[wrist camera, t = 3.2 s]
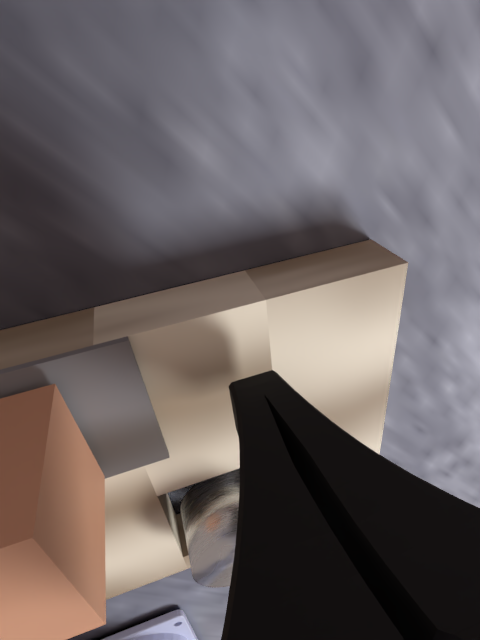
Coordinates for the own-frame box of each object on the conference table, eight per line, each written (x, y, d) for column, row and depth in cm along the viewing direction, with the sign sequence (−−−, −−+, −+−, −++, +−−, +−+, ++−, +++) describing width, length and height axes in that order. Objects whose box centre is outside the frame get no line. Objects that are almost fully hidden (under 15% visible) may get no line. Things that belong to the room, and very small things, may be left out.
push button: (270, 506, 18) (292, 562, 16) (189, 536, 17) (201, 598, 15) (264, 456, 16) (288, 513, 14) (171, 487, 15) (182, 552, 13)
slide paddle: (104, 476, 12) (106, 624, 9) (2, 509, 12) (-36, 679, 8) (55, 383, 10) (32, 537, 7) (-75, 419, 9) (-170, 605, 6)
